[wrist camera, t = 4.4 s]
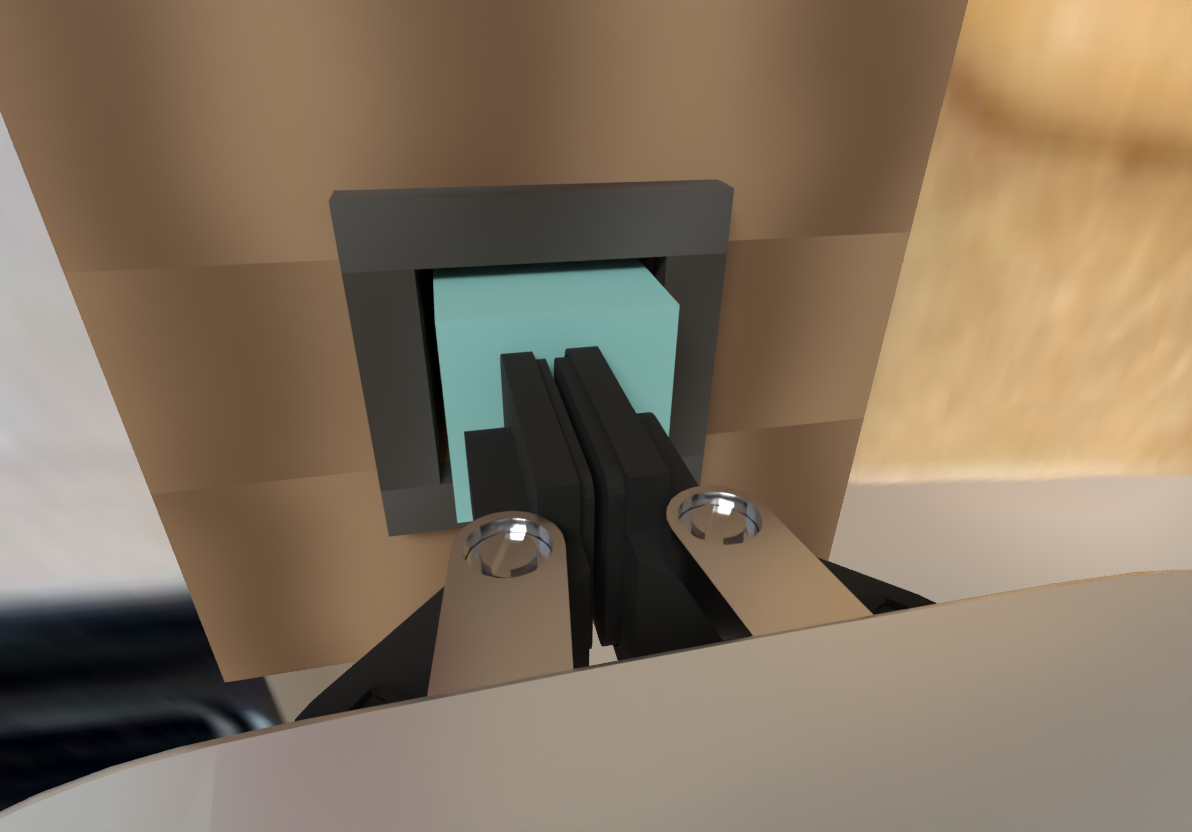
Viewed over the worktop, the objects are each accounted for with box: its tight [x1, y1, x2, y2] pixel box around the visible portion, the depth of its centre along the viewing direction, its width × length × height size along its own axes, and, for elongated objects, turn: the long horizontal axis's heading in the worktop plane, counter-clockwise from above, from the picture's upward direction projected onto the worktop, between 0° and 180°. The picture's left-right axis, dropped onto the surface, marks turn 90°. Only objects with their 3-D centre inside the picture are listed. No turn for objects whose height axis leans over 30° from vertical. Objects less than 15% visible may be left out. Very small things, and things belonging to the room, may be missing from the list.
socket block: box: [0, 0, 968, 682], centre depth 17 cm, size 16×16×10 cm
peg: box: [433, 258, 680, 523], centre depth 16 cm, size 4×4×10 cm
